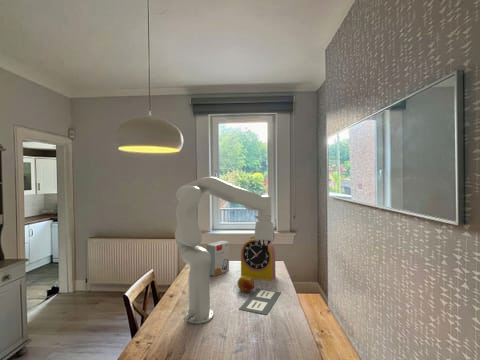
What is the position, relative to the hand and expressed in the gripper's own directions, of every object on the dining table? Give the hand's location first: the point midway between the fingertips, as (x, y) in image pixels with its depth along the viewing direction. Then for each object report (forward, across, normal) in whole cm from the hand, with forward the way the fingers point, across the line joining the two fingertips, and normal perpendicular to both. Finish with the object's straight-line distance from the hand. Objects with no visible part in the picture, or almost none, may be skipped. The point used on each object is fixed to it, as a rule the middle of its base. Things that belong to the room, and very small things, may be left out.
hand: (265, 252), depth 140 cm
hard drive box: (+23, -41, +22) cm, 52 cm away
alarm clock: (+23, -13, +25) cm, 37 cm away
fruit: (+23, -12, +1) cm, 26 cm away
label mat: (+23, 0, -7) cm, 24 cm away
